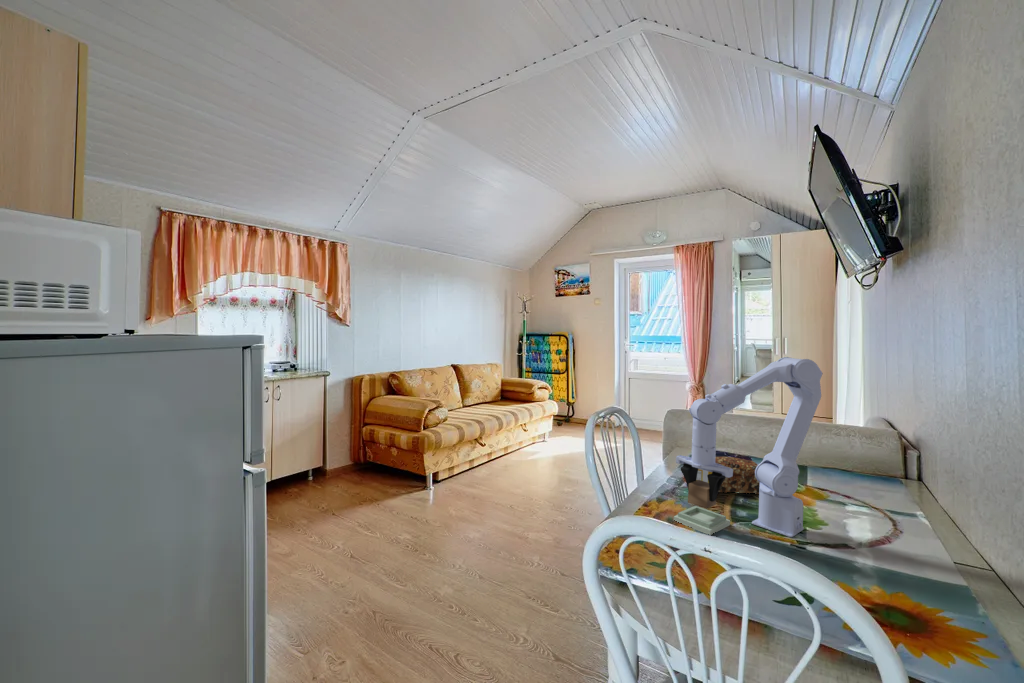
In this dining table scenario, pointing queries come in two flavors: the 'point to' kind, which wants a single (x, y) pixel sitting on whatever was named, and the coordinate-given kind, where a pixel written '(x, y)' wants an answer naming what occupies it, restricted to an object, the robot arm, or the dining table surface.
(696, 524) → the plate
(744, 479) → the bread
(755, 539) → the dining table surface
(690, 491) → the cube
